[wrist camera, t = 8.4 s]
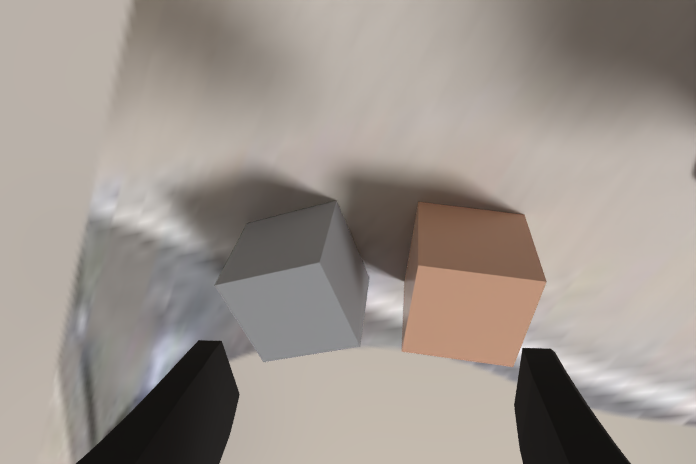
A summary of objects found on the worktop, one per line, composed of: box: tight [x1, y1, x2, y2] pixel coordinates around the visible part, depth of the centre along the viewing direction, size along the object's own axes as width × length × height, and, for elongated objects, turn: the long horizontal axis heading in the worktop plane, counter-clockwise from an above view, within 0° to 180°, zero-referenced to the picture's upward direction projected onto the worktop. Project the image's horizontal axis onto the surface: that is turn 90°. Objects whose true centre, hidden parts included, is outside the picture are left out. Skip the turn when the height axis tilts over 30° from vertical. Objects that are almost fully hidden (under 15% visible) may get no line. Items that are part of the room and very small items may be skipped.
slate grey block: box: [214, 201, 369, 362], centre depth 22 cm, size 4×4×4 cm
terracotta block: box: [402, 202, 546, 367], centre depth 21 cm, size 4×4×4 cm
